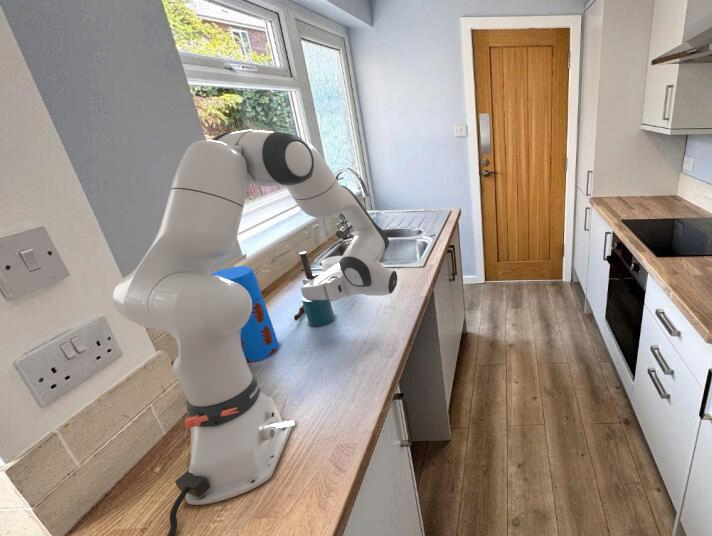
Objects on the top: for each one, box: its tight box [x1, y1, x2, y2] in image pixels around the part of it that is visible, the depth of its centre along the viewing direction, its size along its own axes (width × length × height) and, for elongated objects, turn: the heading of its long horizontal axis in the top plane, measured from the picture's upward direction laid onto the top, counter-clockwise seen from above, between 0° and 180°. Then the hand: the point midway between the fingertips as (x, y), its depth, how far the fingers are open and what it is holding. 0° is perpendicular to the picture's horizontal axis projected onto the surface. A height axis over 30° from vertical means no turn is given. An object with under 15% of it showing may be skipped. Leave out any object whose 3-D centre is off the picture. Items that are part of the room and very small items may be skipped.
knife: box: [293, 304, 306, 322], centre depth 140 cm, size 18×2×3 cm, turn 11°
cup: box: [320, 255, 343, 272], centre depth 155 cm, size 9×9×12 cm
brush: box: [298, 251, 314, 300], centre depth 129 cm, size 3×3×22 cm
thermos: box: [210, 265, 279, 363], centre depth 114 cm, size 11×11×25 cm
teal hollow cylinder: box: [301, 296, 335, 327], centre depth 133 cm, size 8×8×9 cm
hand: (307, 279), depth 128 cm, fingers closed on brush, 2 cm apart
